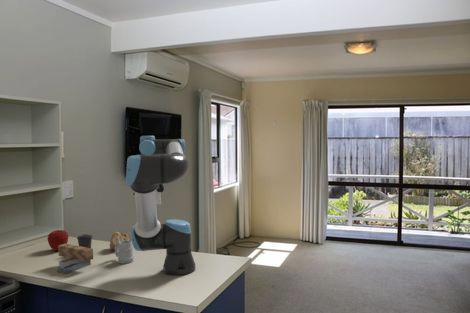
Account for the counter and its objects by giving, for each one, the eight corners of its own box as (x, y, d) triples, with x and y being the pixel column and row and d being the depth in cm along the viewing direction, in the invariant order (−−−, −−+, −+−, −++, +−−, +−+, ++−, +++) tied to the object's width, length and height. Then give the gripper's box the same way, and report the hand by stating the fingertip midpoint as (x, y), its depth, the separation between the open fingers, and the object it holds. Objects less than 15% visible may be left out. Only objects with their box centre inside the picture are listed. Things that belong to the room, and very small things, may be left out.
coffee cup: (87, 250, 215) (86, 232, 215) (96, 252, 210) (95, 234, 210) (74, 254, 209) (73, 235, 208) (83, 256, 204) (82, 238, 203)
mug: (125, 264, 190) (124, 240, 189) (109, 260, 196) (108, 237, 195) (137, 260, 196) (136, 237, 195) (121, 256, 203) (120, 234, 202)
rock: (112, 246, 221) (111, 229, 221) (130, 245, 222) (129, 228, 222) (107, 253, 209) (106, 234, 209) (126, 252, 211) (126, 234, 210)
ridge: (90, 264, 191) (90, 254, 191) (65, 273, 179) (65, 263, 179) (82, 262, 194) (82, 253, 194) (57, 271, 182) (57, 261, 182)
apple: (45, 250, 217) (44, 229, 216) (64, 246, 224) (64, 226, 224) (51, 254, 209) (50, 233, 208) (71, 250, 216) (70, 229, 216)
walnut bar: (93, 258, 184) (92, 248, 184) (86, 261, 181) (85, 250, 180) (65, 253, 194) (65, 243, 193) (58, 255, 190) (58, 245, 190)
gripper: (159, 163, 211) (160, 201, 212) (125, 167, 189) (126, 210, 191) (170, 163, 207) (171, 202, 208) (136, 167, 186) (137, 211, 187)
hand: (149, 206), depth 199 cm, fingers open, 13 cm apart
